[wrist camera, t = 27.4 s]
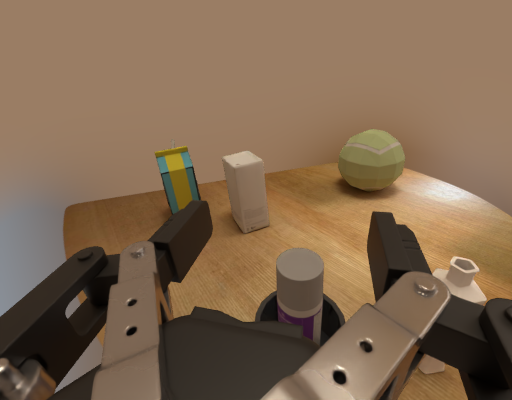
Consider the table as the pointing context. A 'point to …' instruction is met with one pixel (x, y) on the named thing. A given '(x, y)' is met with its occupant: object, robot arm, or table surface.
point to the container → (300, 290)
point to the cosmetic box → (246, 190)
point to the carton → (177, 177)
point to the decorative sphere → (371, 160)
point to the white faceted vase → (462, 287)
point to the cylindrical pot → (329, 321)
